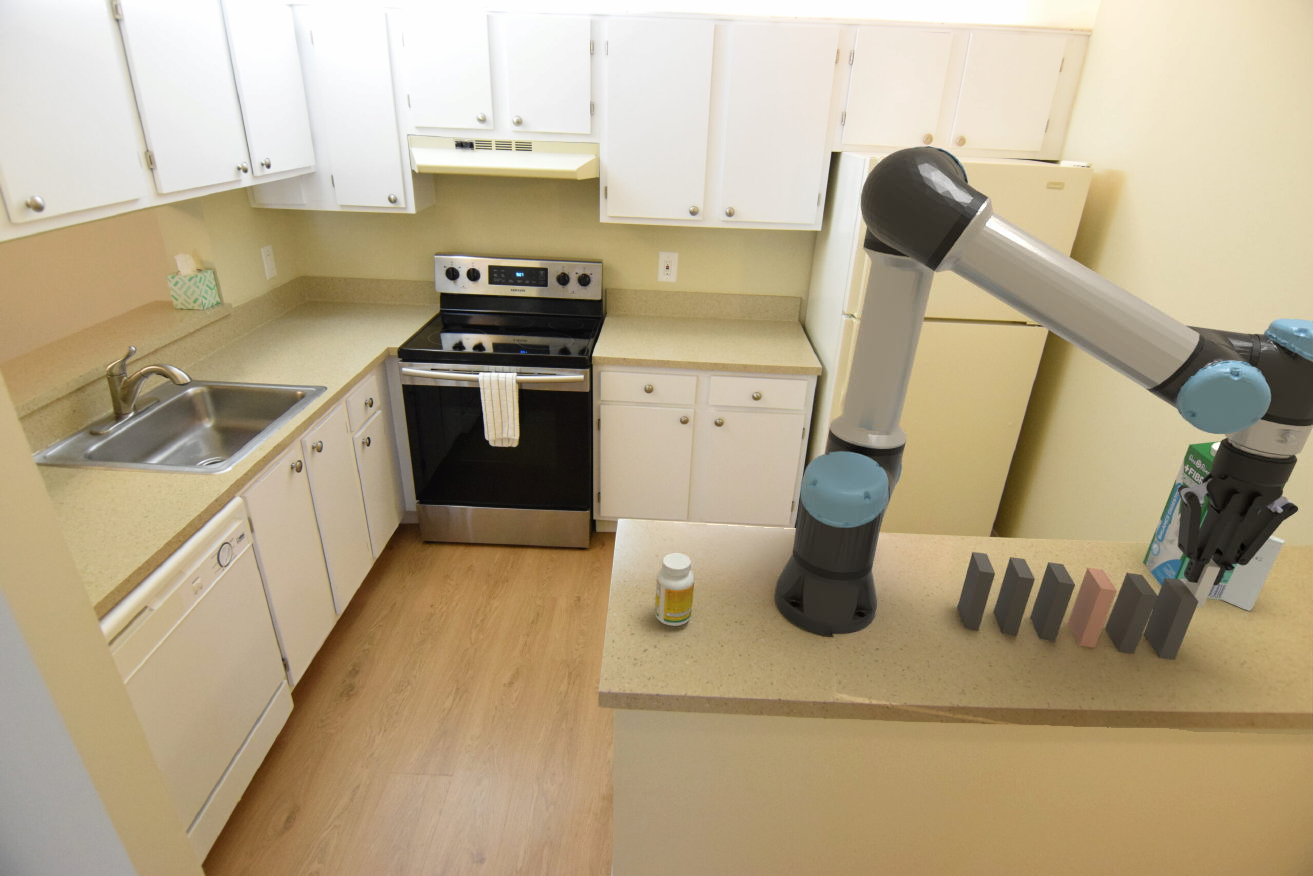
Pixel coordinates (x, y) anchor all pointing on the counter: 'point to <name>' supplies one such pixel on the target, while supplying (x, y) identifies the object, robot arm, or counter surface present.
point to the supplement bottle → (674, 590)
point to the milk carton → (1164, 545)
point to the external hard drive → (1252, 575)
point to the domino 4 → (1091, 607)
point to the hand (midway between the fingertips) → (1191, 600)
